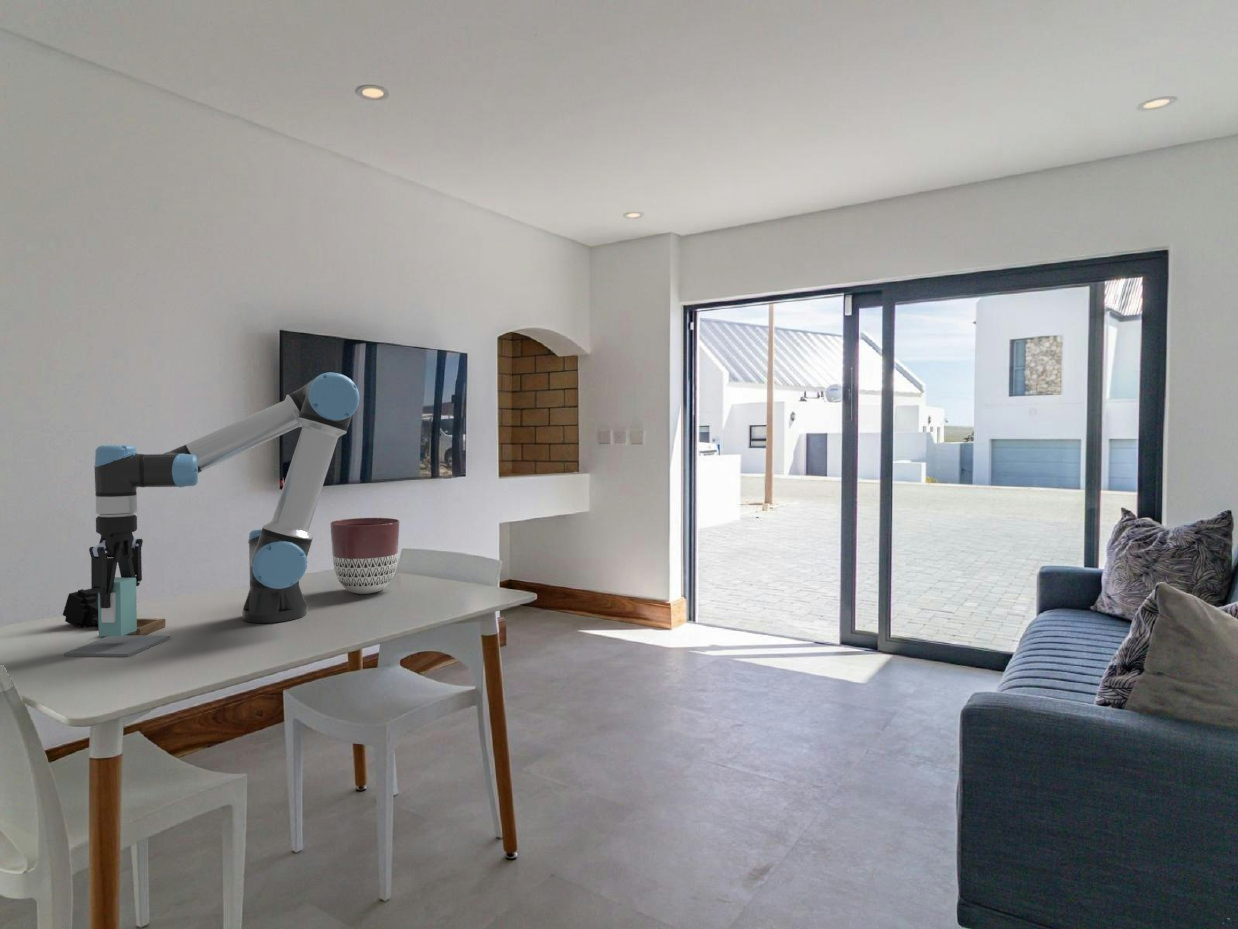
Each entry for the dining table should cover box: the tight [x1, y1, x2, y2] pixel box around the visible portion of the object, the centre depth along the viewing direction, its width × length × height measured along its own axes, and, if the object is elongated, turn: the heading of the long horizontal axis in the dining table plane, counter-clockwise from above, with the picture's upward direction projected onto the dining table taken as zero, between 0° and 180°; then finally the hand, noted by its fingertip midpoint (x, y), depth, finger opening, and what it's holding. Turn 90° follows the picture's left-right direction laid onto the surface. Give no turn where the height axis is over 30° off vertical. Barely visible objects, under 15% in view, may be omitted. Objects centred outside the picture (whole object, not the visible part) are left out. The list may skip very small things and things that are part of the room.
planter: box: [330, 517, 400, 595], centre depth 217 cm, size 20×20×21 cm
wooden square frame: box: [102, 617, 166, 638], centre depth 173 cm, size 9×9×2 cm
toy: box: [62, 588, 99, 628], centre depth 178 cm, size 9×8×15 cm
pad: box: [63, 634, 172, 658], centre depth 161 cm, size 14×14×1 cm
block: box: [98, 576, 138, 637], centre depth 160 cm, size 5×5×12 cm
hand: (118, 618), depth 161 cm, fingers closed on block, 5 cm apart
